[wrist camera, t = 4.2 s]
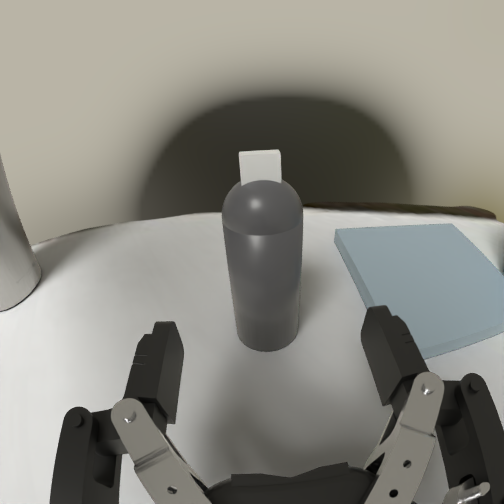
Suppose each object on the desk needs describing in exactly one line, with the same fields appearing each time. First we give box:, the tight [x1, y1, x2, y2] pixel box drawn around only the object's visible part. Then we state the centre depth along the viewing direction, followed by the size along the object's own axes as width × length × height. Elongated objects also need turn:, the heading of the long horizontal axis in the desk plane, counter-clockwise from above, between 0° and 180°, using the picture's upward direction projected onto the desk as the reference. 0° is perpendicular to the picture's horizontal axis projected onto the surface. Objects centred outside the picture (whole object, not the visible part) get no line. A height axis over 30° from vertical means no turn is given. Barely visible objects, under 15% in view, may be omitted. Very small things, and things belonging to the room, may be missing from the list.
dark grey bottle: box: [222, 150, 303, 352], centre depth 17 cm, size 4×4×12 cm
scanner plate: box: [334, 224, 504, 359], centre depth 23 cm, size 16×16×2 cm
